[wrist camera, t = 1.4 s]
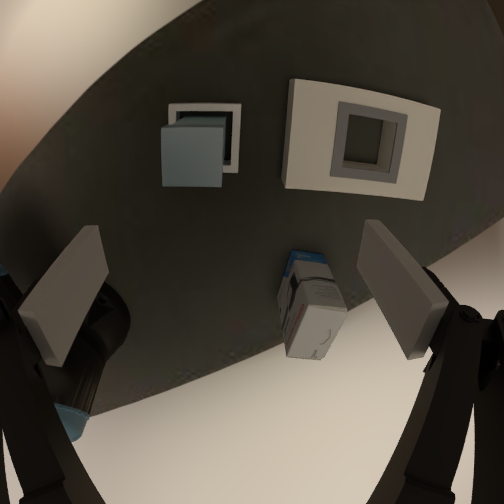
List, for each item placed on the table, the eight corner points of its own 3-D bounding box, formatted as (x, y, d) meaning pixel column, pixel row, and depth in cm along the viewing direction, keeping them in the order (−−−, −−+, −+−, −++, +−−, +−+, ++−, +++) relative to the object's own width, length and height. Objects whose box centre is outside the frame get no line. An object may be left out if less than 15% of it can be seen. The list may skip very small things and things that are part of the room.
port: (281, 178, 37) (285, 189, 33) (289, 79, 31) (295, 78, 27) (410, 191, 38) (424, 201, 35) (425, 106, 32) (442, 109, 29)
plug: (184, 154, 35) (162, 186, 24) (185, 114, 32) (161, 127, 22) (226, 155, 35) (221, 187, 25) (227, 114, 33) (223, 127, 22)
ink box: (291, 248, 42) (308, 304, 31) (324, 254, 42) (350, 309, 32) (274, 298, 46) (284, 359, 35) (306, 302, 46) (322, 361, 36)
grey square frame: (173, 166, 35) (169, 171, 33) (173, 103, 31) (168, 104, 29) (237, 167, 36) (237, 172, 34) (240, 103, 32) (241, 104, 30)
